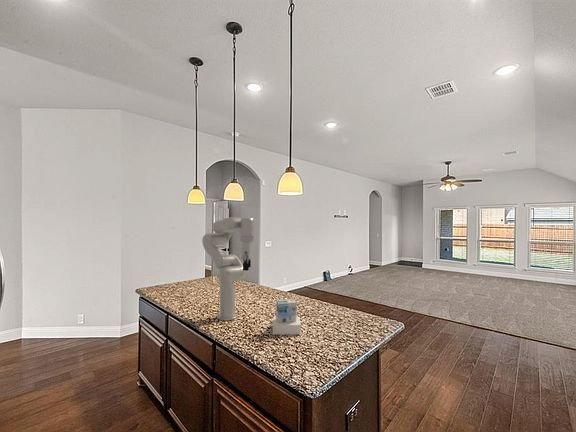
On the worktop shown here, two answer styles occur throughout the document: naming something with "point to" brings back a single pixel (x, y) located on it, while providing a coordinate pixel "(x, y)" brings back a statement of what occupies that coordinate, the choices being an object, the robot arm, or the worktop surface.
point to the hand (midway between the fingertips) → (246, 268)
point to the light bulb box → (286, 311)
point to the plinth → (286, 327)
